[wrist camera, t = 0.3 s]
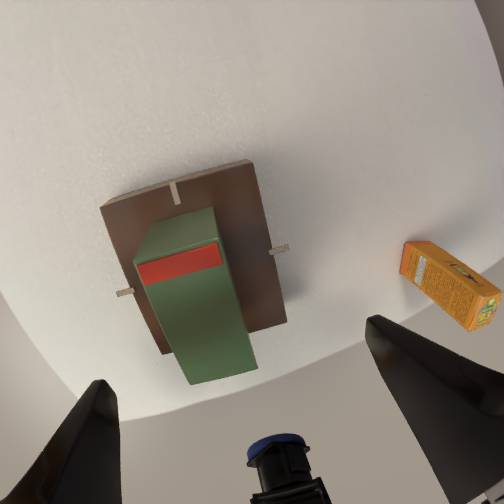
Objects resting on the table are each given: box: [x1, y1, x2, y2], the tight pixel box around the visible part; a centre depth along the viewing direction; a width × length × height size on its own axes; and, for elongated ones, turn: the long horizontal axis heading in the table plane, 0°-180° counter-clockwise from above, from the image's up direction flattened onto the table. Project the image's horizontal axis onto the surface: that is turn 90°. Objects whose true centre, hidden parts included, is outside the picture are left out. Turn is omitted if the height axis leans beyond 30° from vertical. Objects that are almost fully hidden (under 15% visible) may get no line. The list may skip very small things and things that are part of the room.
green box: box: [133, 206, 258, 385], centre depth 17 cm, size 8×4×6 cm, turn 13°
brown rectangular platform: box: [100, 159, 290, 355], centre depth 21 cm, size 12×12×3 cm
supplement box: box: [400, 241, 503, 332], centre depth 21 cm, size 3×3×10 cm
